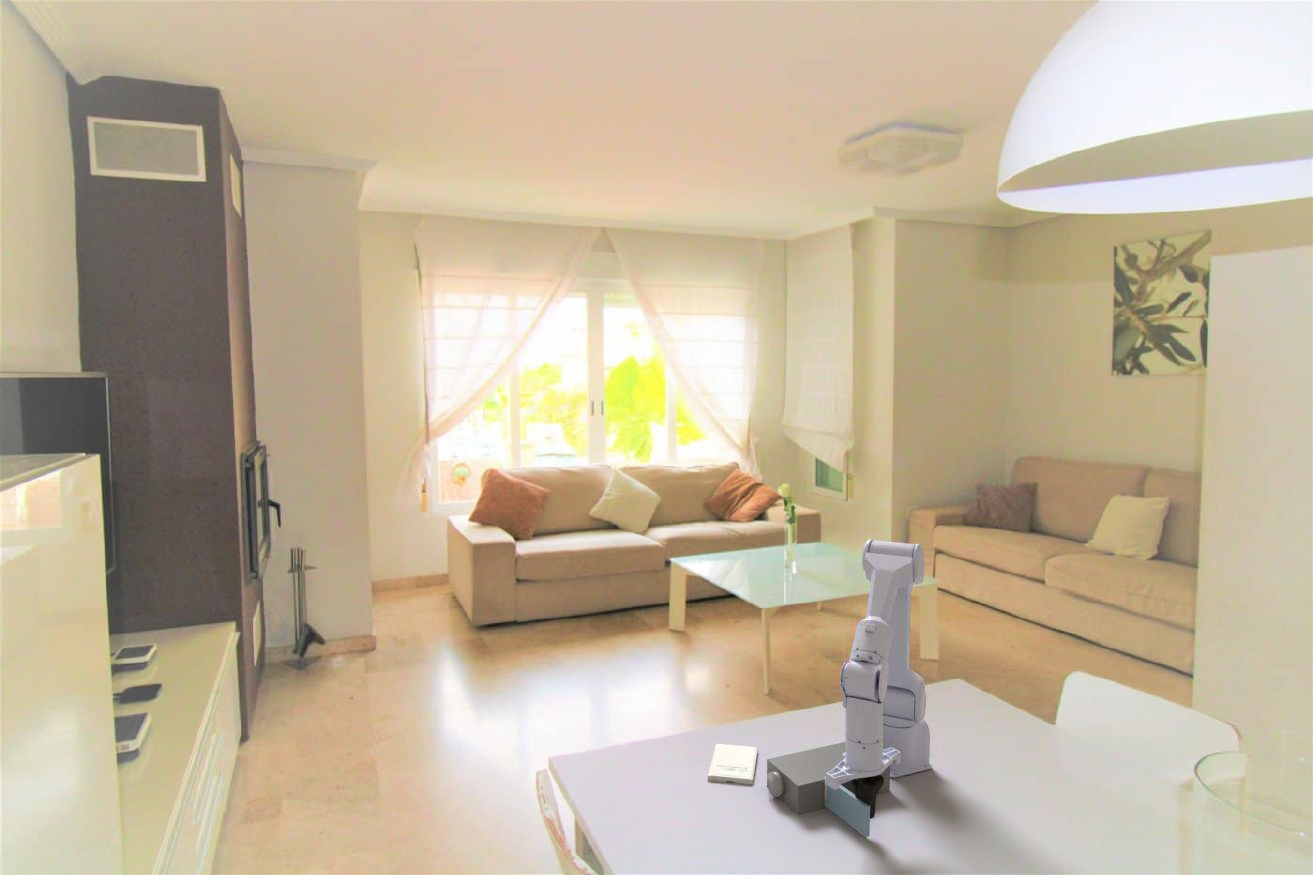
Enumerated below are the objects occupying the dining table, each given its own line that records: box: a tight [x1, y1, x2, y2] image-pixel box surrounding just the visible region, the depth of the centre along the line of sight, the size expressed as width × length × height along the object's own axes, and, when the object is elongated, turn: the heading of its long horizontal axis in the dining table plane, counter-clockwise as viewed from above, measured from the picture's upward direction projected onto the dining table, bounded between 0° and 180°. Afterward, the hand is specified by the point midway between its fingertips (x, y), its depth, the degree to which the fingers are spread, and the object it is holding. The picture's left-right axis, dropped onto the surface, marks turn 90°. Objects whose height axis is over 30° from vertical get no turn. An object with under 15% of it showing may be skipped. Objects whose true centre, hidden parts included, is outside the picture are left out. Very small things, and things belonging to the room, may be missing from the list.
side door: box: [824, 776, 871, 838], centre depth 130 cm, size 10×1×5 cm, turn 26°
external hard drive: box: [707, 743, 759, 785], centre depth 149 cm, size 2×8×12 cm
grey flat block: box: [766, 741, 891, 815], centre depth 140 cm, size 20×10×5 cm, turn 113°
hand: (864, 816), depth 127 cm, fingers closed, pressing on side door
